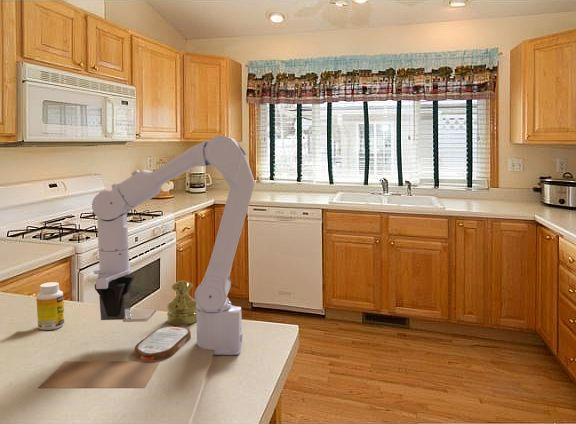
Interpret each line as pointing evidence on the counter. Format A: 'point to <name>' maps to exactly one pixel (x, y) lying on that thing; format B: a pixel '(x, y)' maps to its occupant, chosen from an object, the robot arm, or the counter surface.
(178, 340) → the tin
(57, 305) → the supplement bottle
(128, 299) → the grey pillar on tile
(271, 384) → the counter surface
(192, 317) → the green vase
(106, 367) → the board
